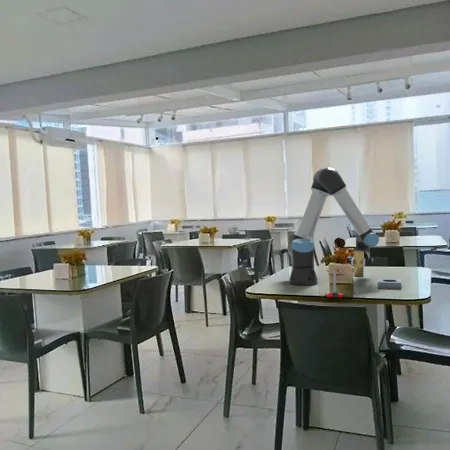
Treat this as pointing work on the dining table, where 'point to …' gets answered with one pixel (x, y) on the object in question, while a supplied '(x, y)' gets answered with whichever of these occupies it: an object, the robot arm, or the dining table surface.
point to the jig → (389, 283)
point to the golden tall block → (358, 264)
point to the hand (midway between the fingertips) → (357, 262)
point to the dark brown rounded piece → (339, 242)
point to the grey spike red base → (334, 290)
